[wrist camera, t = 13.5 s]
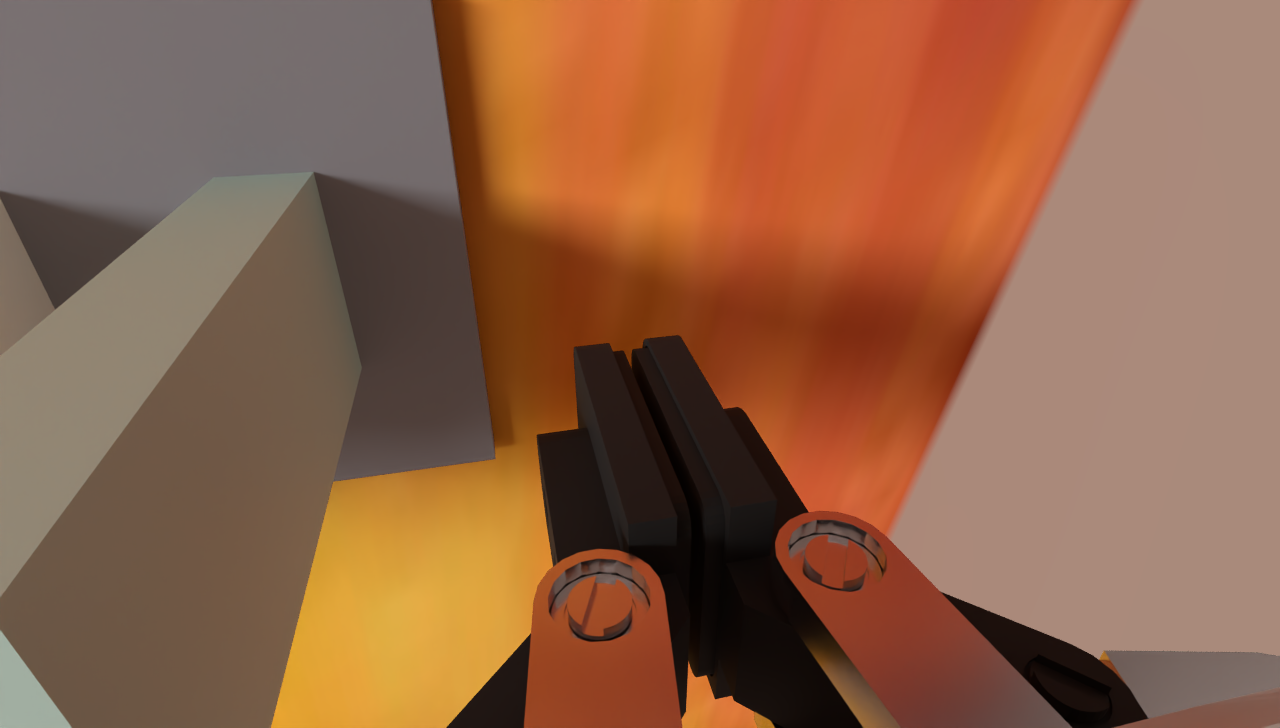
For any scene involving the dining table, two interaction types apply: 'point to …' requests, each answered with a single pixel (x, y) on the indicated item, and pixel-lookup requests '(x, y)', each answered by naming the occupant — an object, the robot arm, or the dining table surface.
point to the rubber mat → (260, 145)
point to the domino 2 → (174, 467)
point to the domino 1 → (18, 287)
